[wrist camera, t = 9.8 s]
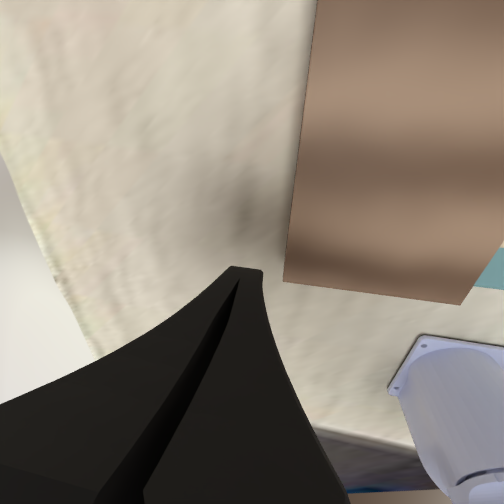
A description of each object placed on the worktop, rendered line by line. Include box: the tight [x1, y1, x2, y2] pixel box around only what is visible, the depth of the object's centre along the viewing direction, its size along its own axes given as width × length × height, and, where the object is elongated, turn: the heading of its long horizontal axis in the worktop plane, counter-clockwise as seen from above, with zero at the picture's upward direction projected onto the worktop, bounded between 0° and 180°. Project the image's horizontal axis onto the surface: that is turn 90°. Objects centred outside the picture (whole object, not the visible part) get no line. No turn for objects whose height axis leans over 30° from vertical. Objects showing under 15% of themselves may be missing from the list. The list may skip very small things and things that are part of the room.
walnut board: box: [283, 0, 504, 305], centre depth 13 cm, size 16×12×3 cm
